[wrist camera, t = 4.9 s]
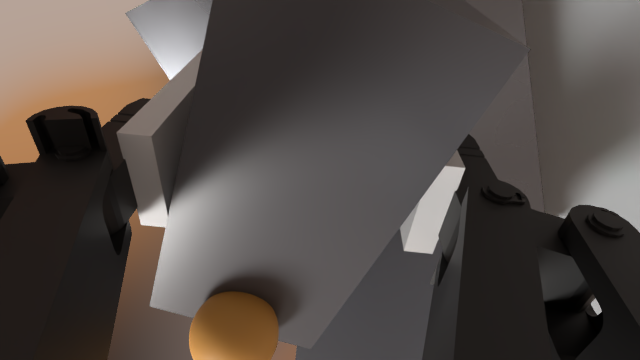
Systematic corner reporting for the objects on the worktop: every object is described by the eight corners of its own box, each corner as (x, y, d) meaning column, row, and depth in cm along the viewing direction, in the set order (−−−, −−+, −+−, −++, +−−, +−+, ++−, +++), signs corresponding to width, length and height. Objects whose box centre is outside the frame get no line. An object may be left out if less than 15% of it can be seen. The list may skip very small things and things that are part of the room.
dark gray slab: (294, -90, 12) (187, -94, 4) (433, -22, 12) (590, 92, 5) (220, 164, 17) (117, 375, 9) (319, 198, 18) (301, 417, 10)
